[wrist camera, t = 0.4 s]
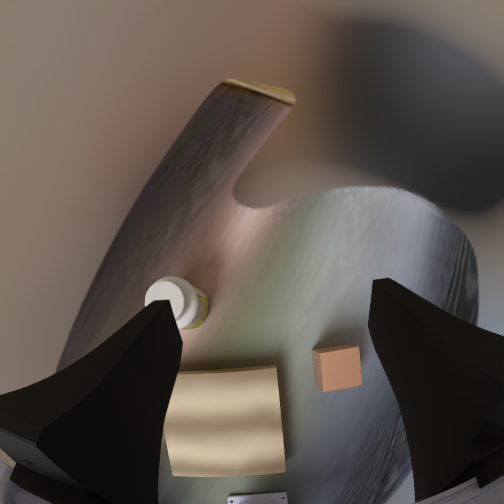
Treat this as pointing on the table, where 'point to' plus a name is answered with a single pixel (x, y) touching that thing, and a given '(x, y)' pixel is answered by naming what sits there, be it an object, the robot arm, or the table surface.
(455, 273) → the table surface
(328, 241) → the table surface
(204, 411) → the maple base
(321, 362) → the terracotta block
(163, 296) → the supplement bottle
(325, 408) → the table surface
